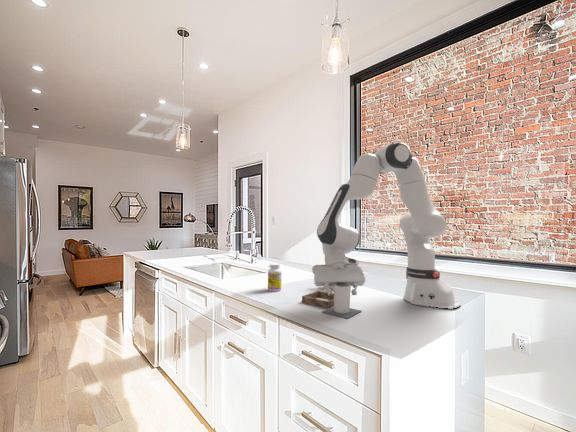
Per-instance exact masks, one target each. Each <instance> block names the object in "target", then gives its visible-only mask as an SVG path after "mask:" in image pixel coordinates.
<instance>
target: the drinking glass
mask: <svg viewBox="0 0 576 432" xmlns="http://www.w3.org/2000/svg"><path fill="white" fill-rule="evenodd" d="M351 287H352V286H351V285H350V284H347V283H335V284H334V289H333V293H334V311H335V312H338V313H348V312H349V308H351V291H352V289H351Z"/></svg>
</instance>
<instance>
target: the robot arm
mask: <svg viewBox="0 0 576 432" xmlns="http://www.w3.org/2000/svg"><path fill="white" fill-rule="evenodd" d="M389 172H392V173H393V174H394V175H395V177H396V179H397V186H398V189H399V194H400V197H401V202H402V203H403V205H404V206H405V207H406V208H407V210H408V212H409V213H406V214H404V215H403V216H402V217H401V219H400V222H399V227H400V229H401V231H402V232H403V235H404V236H403V237H404V239H405V243H406V244H405V245H406V249H407V266H406V270H405V271H406V272H405V279H406V285H405V290H404V295H403V298H402V299H403V300H405V301H407V302H409V303H410V304H412V305H414V306H415V305H416V306H422V307H423V306H424V307H429V306H430V307H429V308H436V307H438V309H443V308H448V309H447V310H451V309H452V308H456V307H459V306H460V307H461V305H460V304H461V301H459V300H458V299H456V298H455V293H454V290H453V288H452V287H450V285H449V284H447V283H446V282H444V280H443V279H441V278H440V275H441V271H440V270H438V269H436V263H435V262H436V252H435V249H434V248H433V245H431V241H430V239H432V238H433V239H434V238H437V237H438V238H439V237H441V236H443V234H444V233H445V232H446V230H447V227H448V225H447V220H446V218H445V217H444V216H443V215H442V214H441V213H440V212H439V211H438V210H437V208H436V206H435V205H434V203H433V201H432V199H431V196H430V194H429V191H428V186H427V182H426V179H425V174H424V172H423V169H422V167H421V165H420V162H419V159H417V158H416V157H413V154H412V151H411V149H410V147H409V146H408V145H407V144H406V143H405V142H401V141H395V142H392V143H390V144H387V145H384V146H382V147H381V148H379V149H378V150H376V151H374V152H372V153H370V152H369V153H363V154H361V155H360V156H359V157H358V159H357V161H356V162H355V164H354V167H353V168H352V171H351V174H350V177H349V180H348V181H347V182H346V183H344V184H342V185H340V187H339V188H338V190H337V192H336V194H335V195H334V197H333V198H332V200H331V203H330V205H329V207H328V210H327V211H326V213H325V215H324V217H323V218H322V220H321V221H320V223H319V224H318V226H317V229H316V235H317V238H318V241H319V242H320V243H321V244H322V245H321V247H322V253H323V255H324V263H325V264H315V265H313V266H311V267H312V268H311V272H312V273H313V282H314V283H313V284H314V286H315V287H323V289H324V290H325V292H328V296H330V295H332V294H333V293H334V291H333V289H331V288H329V287H328V286H334V284H335V283H347V284H350V285H351V287H352V289H351V291H350V293H351V296H357V294H358V291H357V288H358V287H362V286H364V284H365V283H366V276H365V273H364V271H363V269H362V267H361V266H360V265H359V264H360V263H359V260H358V259H355V258H351V257H348V256H346V254H348V253H350V252H352V251H353V250H355V249H356V248H357V247H358V246H359V244H360V240H361V237H360V233H359V230H357V229H356V228H354V227H351V226H349V225H345V224H343V223H341V222H339V221H338V220H339V217H340V215H341V214H342V211H343V209H344V207H345V205H346V204H347V203H348V202H349V201H350V200H365V199H367V198H369V197H370V196H372V194H374V191H375V189H376V187H377V182H378V179H379V176H380V175H381V174H386V173H389ZM460 307H459V308H460ZM452 310H453V309H452Z"/></svg>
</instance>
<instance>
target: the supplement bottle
mask: <svg viewBox="0 0 576 432" xmlns="http://www.w3.org/2000/svg"><path fill="white" fill-rule="evenodd" d="M280 266H281V265H280V263H277V262H275V263H270V264H269V269H268V270H267V290H268V291H270V292H279V291H281V290H282V269H280Z"/></svg>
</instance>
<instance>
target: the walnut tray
mask: <svg viewBox="0 0 576 432" xmlns="http://www.w3.org/2000/svg"><path fill="white" fill-rule="evenodd" d="M320 298H323V299H320ZM324 299H328V300H324ZM301 302H302V303H305V304H309V305H314V306H317V307H322V308H325V309H329V308H331V307H333V306H334V292H333V294H332V295H330V296H328V292H327V291H324V290H316V291H314V292H310V293H308V294H305V295H302V296H301Z"/></svg>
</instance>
